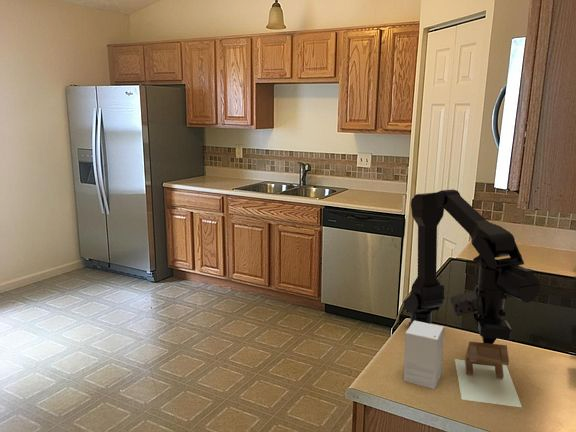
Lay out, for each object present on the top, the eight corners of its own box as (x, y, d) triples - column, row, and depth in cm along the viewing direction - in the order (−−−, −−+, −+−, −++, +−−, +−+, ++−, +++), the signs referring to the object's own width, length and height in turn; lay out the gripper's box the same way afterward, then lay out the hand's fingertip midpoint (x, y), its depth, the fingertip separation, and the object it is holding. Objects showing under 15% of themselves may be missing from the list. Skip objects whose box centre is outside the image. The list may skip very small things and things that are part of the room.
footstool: (465, 358, 113) (469, 341, 108) (500, 362, 111) (506, 345, 106) (466, 374, 110) (470, 358, 105) (502, 378, 108) (509, 362, 103)
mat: (454, 360, 117) (454, 359, 117) (506, 365, 114) (506, 364, 114) (461, 400, 101) (461, 399, 101) (521, 408, 98) (521, 407, 98)
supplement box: (442, 374, 111) (445, 326, 108) (434, 390, 105) (437, 339, 102) (411, 366, 115) (413, 319, 112) (402, 381, 109) (404, 332, 106)
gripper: (450, 269, 116) (446, 327, 120) (458, 298, 98) (453, 365, 102) (499, 272, 113) (493, 331, 117) (515, 303, 96) (508, 371, 99)
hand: (486, 348), depth 109 cm, fingers closed
